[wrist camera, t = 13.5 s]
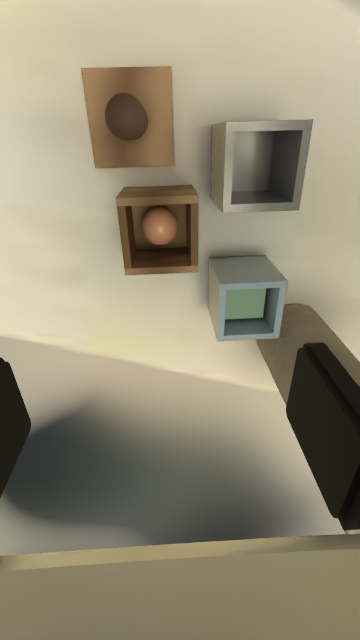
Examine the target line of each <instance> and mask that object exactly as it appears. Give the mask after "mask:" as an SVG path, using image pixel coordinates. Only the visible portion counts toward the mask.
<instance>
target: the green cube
mask: <svg viewBox="0 0 360 640" xmlns="http://www.w3.org/2000/svg"><path fill="white" fill-rule="evenodd" d="M265 295H266V288H261V289H239V290H226V304H225V319H244V318H263V312H264V303H265Z"/></svg>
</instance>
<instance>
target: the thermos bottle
mask: <svg viewBox="0 0 360 640" xmlns="http://www.w3.org/2000/svg"><path fill="white" fill-rule="evenodd" d="M317 342H323V343H325V344H326V345H327V347H328V348H329V349H330V350H331V352H332V353H333V354H334V355H335V357H336V358H337V359H338V360H339V362H340V363H341V364H342V366H343V367H344V368H345V369H346V371H347V372H348V373H349V374H350V376H351V377H352V378H353V379H354V381H355V382H356V383H357V384H358V385H359V386H360V362H359V361H358V360H357V359H356V357H355V356H354V355H353V354H352V353H351V352H350V351H349V349H348V348H347V347H346V346H345V345H344V344H343V342H342V341H341V340H340V339H339V338H338V337H337V336H336V334H335V333H334V332H333V331H332V330H331V329H330V328H329V327H328V325H327V324H326V323H325V322H324V321H323V320H322V319H321V317H320V316H319V315H318V314H317V313H316V312H315V311H314V310H313V309H311V308H309V307H307V306H304V305H299V304H289V305H285V306H284V308H283V314H282V320H281V327H280V333H279V338H273V339H257V344H258V346H259V349H260V351H261V353H262V355H263V358H264V360H265V362H266V364H267V365H268V368H269V370H270V372H271V374H272V377H273V379H274V381H275V383H276V385H277V387H278V389H279V392H280V394H281V396H282V398H283V400H284V402H285V403H286V405H287V401H288V396H289V391H290V386H291V381H292V376H293V371H294V366H295V361H296V356H297V351H298V349H299V348H303V345H304V344H305V343H317ZM344 531H345V533H346V534H360V529H359V530H344Z"/></svg>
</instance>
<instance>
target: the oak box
mask: <svg viewBox="0 0 360 640" xmlns="http://www.w3.org/2000/svg"><path fill="white" fill-rule="evenodd" d="M116 200H117V209H118V217H119V226H120V234H121V242H122V251H123V259H124V268H125V275H143V274H166V273H189V272H198V194H197V192H196V191H195V189H194V188H193V186H192V185H182V186H152V187H124V188H123V190H122V191H121V192H120V194H119V195H118V196H117V198H116ZM157 207H162V208H166V209H168V210H170V211H171V212H172V213H173V214H174V215H175V217H176V219H177V222H178V232H177V234H176V236H175V238H174V239H173V240H172V241H171V242H170V243H168V244H166V245H155V244H152V243H151V242H149V241H148V240H147V239H146V238H145V236H144V235H143V232H142V220H143V218H144V216H145V214H146V213H147V212H148V211H149V210H151V209H153V208H157Z"/></svg>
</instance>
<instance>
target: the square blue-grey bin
mask: <svg viewBox="0 0 360 640" xmlns="http://www.w3.org/2000/svg"><path fill="white" fill-rule="evenodd" d="M287 282H288V281H287V280H286V279H285V277H284V276H283V275H282V274H281V273H280V272H279V271H278V270H277V268H276V267H275V266H274V265H273V264H272V263H271V262H270V260H269V259H268V258H267V257H266V256H265V255H260V256H236V257H212V258H209V288H208V309H209V313H210V316H211V320H212V324H213V327H214V331H215V334H216V338H217V341H233V340H253V339H273V338H279V333H280V327H281V320H282V314H283V308H284V301H285V295H286V289H287ZM261 288H266V295H265V303H264V312H263V318H244V319H225V304H226V290H239V289H261Z"/></svg>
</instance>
